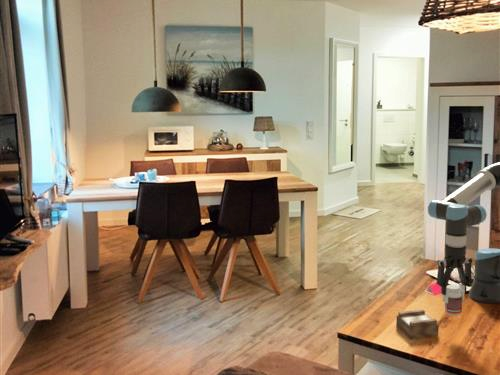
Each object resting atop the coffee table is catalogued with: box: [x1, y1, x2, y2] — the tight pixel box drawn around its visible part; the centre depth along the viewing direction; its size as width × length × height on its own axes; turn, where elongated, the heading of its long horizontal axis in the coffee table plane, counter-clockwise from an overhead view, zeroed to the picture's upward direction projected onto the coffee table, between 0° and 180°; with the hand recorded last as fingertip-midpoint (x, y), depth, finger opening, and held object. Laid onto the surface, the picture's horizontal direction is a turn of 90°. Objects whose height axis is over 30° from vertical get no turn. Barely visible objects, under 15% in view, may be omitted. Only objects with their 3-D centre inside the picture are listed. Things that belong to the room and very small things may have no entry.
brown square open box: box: [395, 309, 440, 340], centre depth 218 cm, size 12×12×6 cm
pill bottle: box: [444, 284, 463, 317], centre depth 212 cm, size 6×6×11 cm
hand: (453, 301), depth 212 cm, fingers closed on pill bottle, 6 cm apart
